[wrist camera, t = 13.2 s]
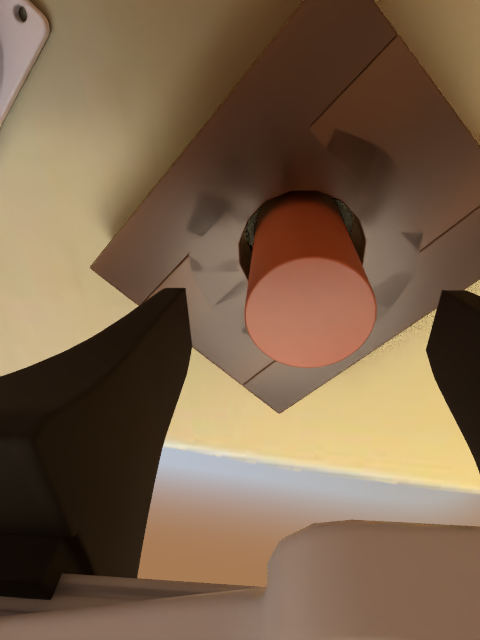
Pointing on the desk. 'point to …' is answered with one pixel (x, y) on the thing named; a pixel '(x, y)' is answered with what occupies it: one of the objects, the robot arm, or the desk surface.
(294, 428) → the desk surface
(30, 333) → the desk surface
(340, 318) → the peg
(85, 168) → the desk surface
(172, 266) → the block with round hole
